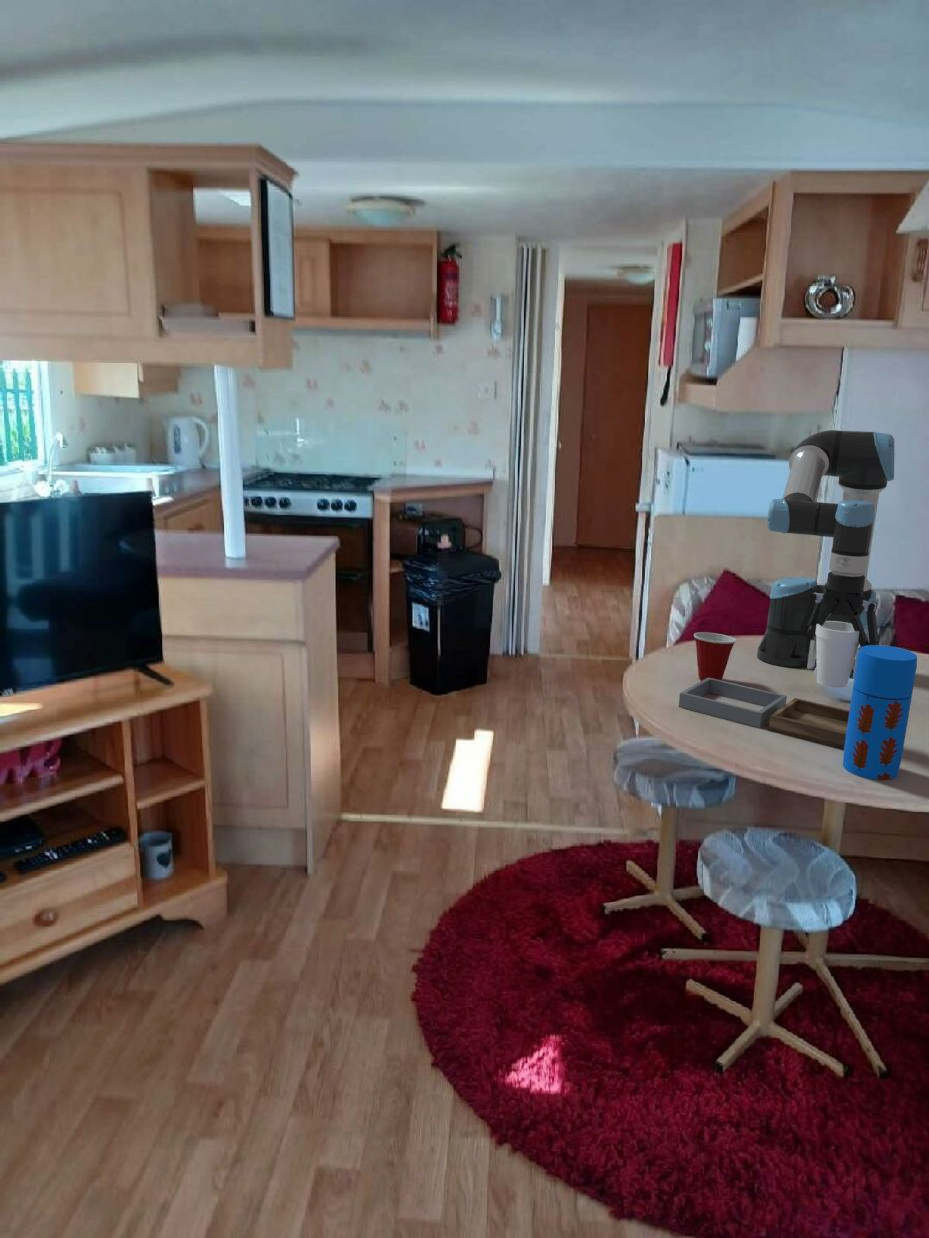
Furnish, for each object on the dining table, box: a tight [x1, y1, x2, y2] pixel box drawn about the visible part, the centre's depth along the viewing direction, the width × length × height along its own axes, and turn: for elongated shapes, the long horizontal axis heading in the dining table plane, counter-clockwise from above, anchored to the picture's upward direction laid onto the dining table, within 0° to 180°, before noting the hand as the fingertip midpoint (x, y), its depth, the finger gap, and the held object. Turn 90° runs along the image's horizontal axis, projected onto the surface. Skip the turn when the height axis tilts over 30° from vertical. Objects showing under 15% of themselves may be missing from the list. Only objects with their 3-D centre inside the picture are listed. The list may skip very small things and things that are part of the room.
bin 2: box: [768, 697, 850, 751], centre depth 213 cm, size 16×20×4 cm
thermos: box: [842, 644, 918, 781], centre depth 191 cm, size 11×11×25 cm
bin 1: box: [678, 678, 788, 729], centre depth 226 cm, size 16×20×4 cm
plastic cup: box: [693, 631, 737, 682], centre depth 246 cm, size 11×11×12 cm
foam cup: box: [815, 621, 860, 688], centre depth 209 cm, size 10×9×13 cm
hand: (833, 671), depth 210 cm, fingers closed on foam cup, 9 cm apart
